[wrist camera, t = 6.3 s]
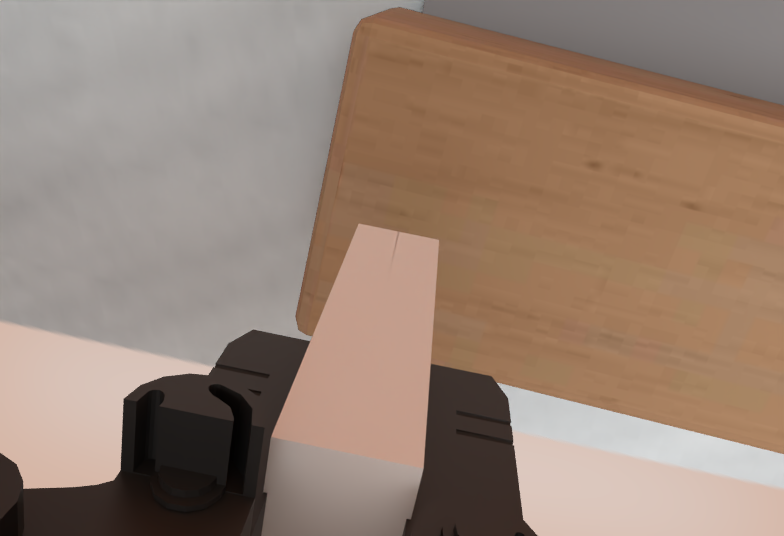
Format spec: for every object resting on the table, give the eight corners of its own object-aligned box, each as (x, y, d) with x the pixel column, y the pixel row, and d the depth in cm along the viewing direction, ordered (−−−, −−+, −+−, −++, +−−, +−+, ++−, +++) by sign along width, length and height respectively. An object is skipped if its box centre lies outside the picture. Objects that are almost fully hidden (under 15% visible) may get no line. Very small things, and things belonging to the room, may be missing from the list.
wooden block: (388, 3, 28) (873, 127, 28) (337, 234, 32) (765, 342, 32) (355, 13, 19) (1078, 197, 19) (289, 336, 22) (892, 487, 23)
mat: (364, 320, 34) (362, 328, 33) (452, -146, 26) (452, -149, 26) (678, 385, 34) (683, 394, 33) (858, -65, 26) (870, -67, 26)
